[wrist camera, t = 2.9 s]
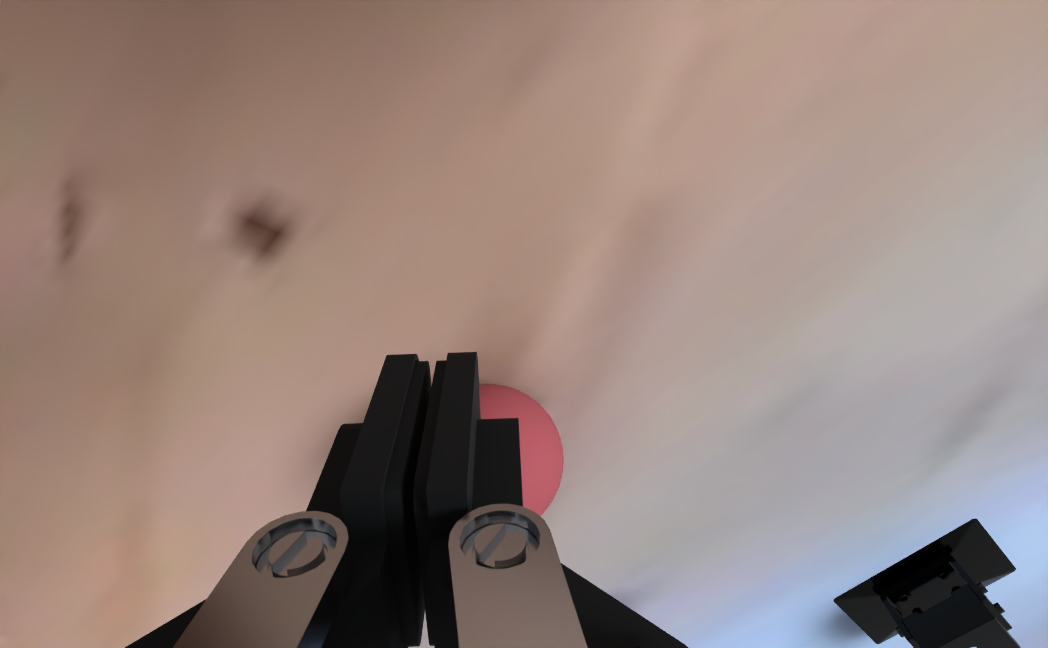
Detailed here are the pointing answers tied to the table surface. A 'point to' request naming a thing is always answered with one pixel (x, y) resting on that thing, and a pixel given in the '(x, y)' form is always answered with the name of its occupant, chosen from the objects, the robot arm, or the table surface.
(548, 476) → the ball
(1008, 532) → the table surface
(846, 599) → the black boxy piece
